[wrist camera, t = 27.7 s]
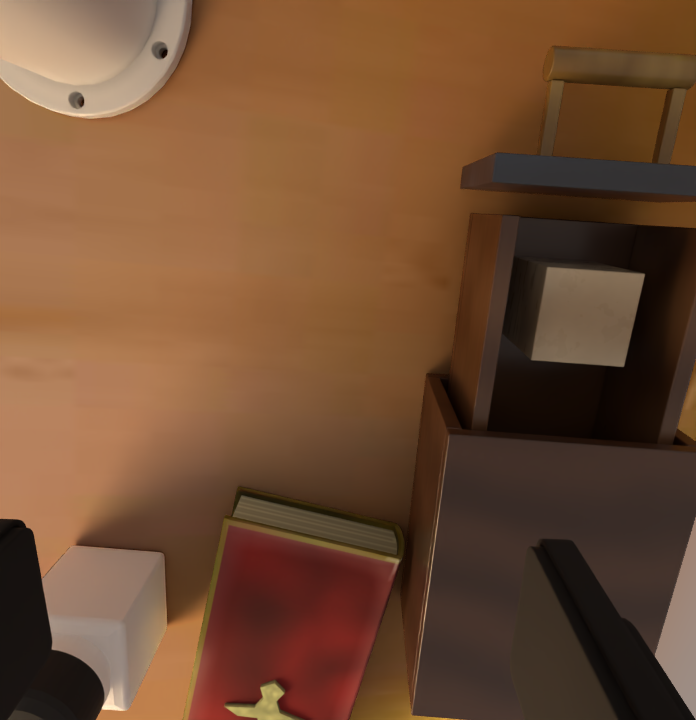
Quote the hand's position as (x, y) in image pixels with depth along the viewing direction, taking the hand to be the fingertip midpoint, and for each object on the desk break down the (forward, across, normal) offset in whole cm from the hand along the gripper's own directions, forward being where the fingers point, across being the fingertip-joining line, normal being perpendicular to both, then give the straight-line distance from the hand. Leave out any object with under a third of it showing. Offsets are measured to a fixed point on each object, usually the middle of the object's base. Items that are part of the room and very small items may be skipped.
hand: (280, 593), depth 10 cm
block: (+22, -12, -2) cm, 25 cm away
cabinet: (+24, -12, +13) cm, 30 cm away
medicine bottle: (+24, +16, +22) cm, 36 cm away
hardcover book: (+24, +3, +24) cm, 34 cm away
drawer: (+23, -13, -3) cm, 27 cm away
